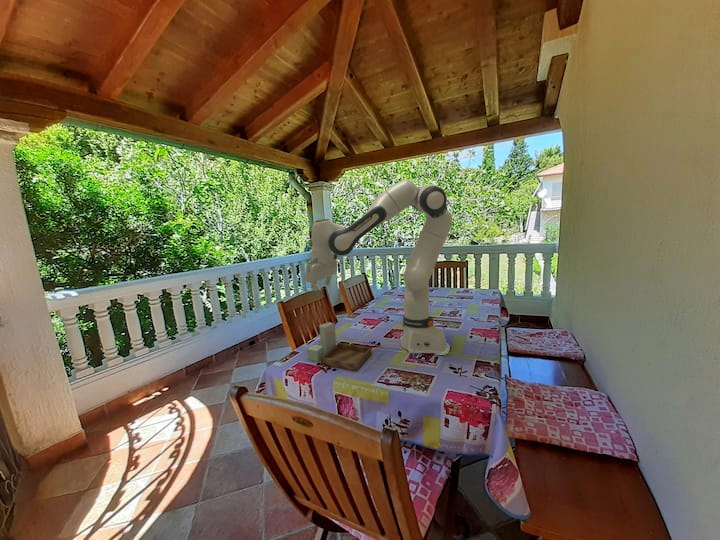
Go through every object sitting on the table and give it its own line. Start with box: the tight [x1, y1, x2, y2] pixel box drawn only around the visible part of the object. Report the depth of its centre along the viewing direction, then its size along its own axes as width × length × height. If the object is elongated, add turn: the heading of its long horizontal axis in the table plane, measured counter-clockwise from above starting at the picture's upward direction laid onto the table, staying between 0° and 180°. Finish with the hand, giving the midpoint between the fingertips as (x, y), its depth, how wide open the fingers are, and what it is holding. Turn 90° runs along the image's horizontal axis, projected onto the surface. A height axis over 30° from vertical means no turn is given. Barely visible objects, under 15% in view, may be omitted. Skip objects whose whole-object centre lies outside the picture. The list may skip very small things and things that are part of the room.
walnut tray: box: [320, 342, 373, 373], centre depth 122 cm, size 16×16×3 cm
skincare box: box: [318, 321, 337, 353], centre depth 131 cm, size 6×4×12 cm
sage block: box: [306, 344, 325, 363], centre depth 123 cm, size 5×5×5 cm
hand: (321, 287), depth 127 cm, fingers open, 8 cm apart
